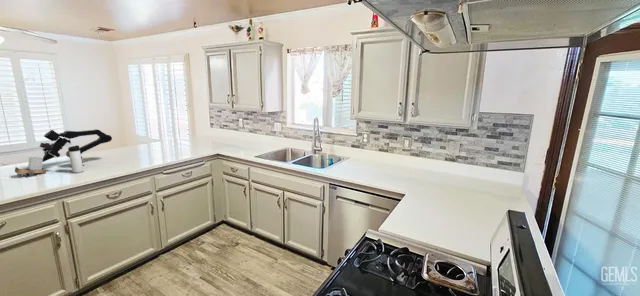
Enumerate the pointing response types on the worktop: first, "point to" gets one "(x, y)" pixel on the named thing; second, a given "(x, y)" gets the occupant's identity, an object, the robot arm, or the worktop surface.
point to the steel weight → (35, 163)
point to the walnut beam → (29, 171)
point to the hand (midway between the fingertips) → (41, 161)
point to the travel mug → (75, 159)
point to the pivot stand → (27, 175)
